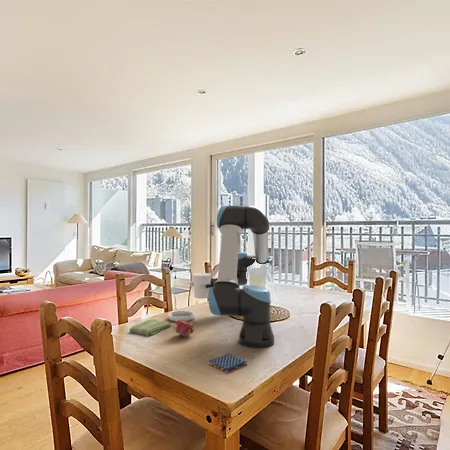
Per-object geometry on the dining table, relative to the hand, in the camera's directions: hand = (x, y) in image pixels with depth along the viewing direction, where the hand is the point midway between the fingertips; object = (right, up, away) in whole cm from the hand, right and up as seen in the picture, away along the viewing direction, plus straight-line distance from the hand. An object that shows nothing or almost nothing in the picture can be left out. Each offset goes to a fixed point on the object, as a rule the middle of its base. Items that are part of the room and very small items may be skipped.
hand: (194, 285), depth 173 cm
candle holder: (+4, -7, +3) cm, 8 cm away
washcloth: (-20, -19, -15) cm, 31 cm away
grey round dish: (-7, -18, +2) cm, 20 cm away
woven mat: (+17, -19, -55) cm, 60 cm away
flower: (-2, -18, -25) cm, 31 cm away
